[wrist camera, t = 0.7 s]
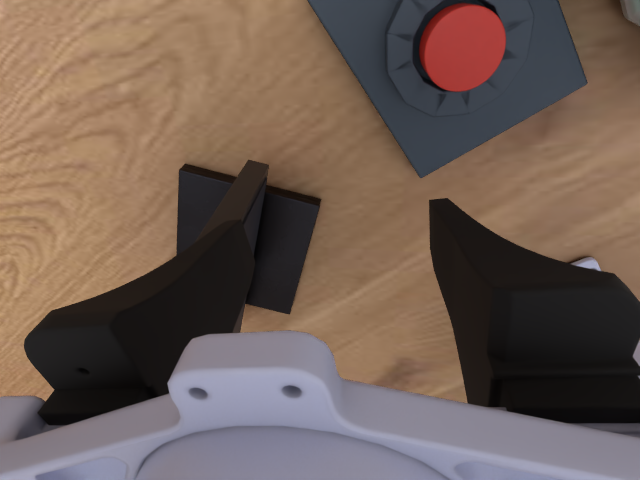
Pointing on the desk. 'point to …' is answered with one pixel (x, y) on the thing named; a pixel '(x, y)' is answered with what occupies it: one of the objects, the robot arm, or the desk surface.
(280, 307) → the monitor stand
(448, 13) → the power button
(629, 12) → the ornate book
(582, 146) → the desk surface
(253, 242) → the screen
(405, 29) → the switch box
